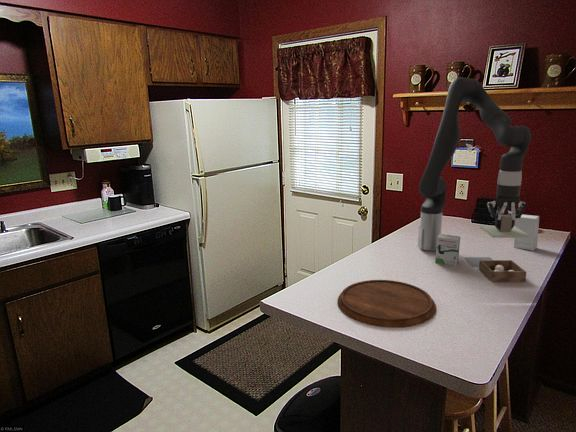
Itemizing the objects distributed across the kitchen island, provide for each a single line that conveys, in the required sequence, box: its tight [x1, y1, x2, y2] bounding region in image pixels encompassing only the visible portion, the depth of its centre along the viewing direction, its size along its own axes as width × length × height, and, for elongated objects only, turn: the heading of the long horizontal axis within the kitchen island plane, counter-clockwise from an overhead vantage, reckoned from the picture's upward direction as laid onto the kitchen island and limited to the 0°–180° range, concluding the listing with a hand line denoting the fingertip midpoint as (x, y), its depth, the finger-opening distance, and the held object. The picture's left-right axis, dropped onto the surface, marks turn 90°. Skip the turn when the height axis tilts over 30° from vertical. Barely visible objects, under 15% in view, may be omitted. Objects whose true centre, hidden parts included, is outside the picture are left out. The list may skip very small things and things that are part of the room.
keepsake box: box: [478, 259, 527, 283], centre depth 156 cm, size 12×12×4 cm
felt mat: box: [462, 256, 494, 268], centre depth 171 cm, size 11×11×1 cm
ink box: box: [434, 233, 461, 267], centre depth 170 cm, size 9×5×12 cm, turn 62°
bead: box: [495, 265, 504, 271], centre depth 159 cm, size 3×3×3 cm
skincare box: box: [513, 214, 540, 251], centre depth 186 cm, size 8×6×15 cm
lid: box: [479, 214, 529, 239], centre depth 153 cm, size 12×12×6 cm
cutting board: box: [337, 279, 437, 329], centre depth 139 cm, size 32×32×2 cm
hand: (504, 228), depth 153 cm, fingers closed on lid, 3 cm apart
